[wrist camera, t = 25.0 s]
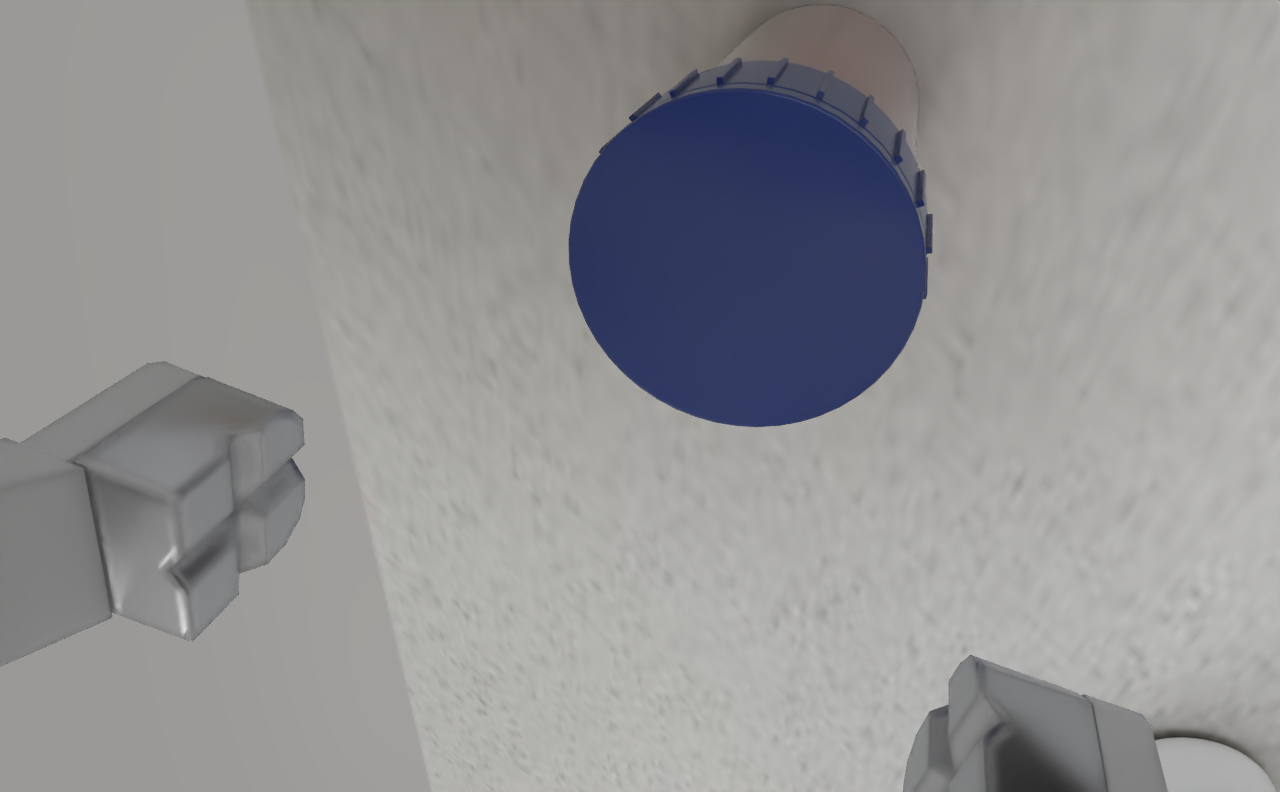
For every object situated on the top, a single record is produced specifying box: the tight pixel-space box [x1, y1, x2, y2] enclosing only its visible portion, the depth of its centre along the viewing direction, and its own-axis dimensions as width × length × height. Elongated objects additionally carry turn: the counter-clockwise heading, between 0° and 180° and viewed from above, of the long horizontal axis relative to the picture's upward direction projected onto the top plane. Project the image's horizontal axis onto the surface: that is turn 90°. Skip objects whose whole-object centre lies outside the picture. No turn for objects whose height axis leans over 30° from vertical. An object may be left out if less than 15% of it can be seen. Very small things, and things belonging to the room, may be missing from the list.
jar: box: [716, 4, 919, 158], centre depth 20 cm, size 5×5×11 cm
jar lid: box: [569, 57, 933, 427], centre depth 16 cm, size 6×6×2 cm
